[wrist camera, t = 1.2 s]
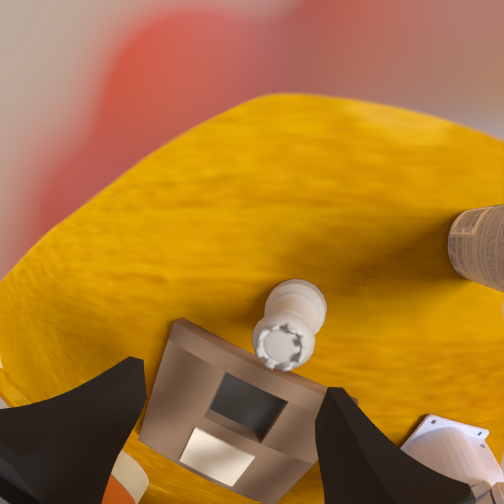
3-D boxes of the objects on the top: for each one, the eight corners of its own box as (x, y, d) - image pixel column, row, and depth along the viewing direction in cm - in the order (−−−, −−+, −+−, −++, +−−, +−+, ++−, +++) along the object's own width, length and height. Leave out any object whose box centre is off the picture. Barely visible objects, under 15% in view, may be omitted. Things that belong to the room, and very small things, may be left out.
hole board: (357, 398, 20) (358, 410, 19) (274, 496, 23) (271, 507, 21) (182, 317, 23) (172, 322, 22) (145, 432, 26) (137, 440, 24)
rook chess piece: (328, 333, 21) (328, 386, 13) (270, 337, 22) (241, 388, 14) (324, 274, 20) (323, 300, 13) (263, 280, 22) (229, 307, 14)
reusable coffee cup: (167, 469, 26) (99, 548, 11) (155, 507, 28) (105, 568, 13) (86, 415, 29) (7, 467, 14) (88, 463, 30) (30, 509, 16)
